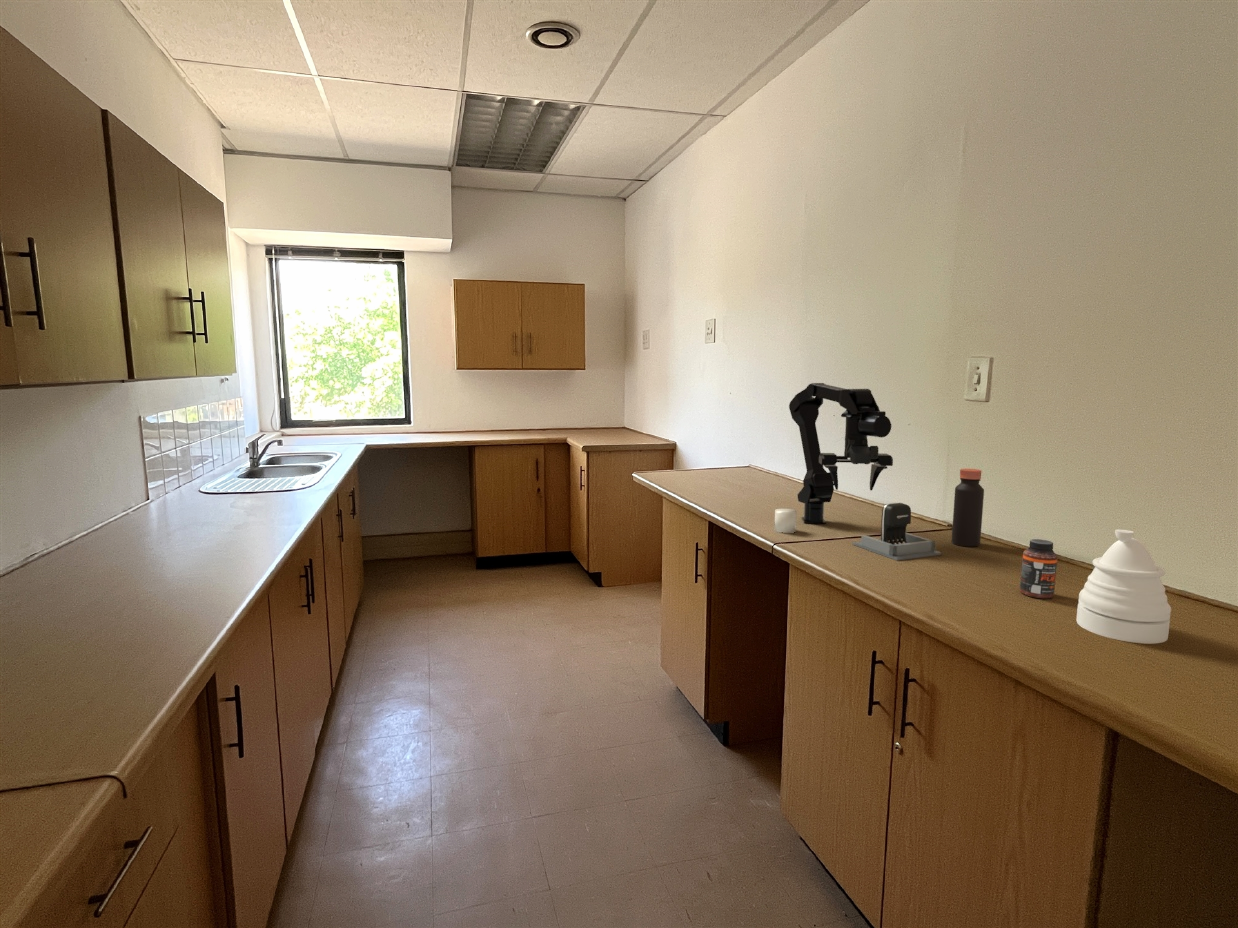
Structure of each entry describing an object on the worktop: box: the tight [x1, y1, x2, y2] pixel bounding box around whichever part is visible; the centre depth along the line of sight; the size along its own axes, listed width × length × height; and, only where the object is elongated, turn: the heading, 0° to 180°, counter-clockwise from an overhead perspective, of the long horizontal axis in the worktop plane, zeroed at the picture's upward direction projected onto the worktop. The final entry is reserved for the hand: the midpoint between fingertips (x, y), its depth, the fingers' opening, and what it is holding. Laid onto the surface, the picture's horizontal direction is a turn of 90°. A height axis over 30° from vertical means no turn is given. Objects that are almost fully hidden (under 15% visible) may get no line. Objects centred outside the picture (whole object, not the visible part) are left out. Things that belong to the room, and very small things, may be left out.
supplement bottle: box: [1019, 538, 1058, 600], centre depth 130 cm, size 6×6×11 cm
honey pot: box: [1076, 529, 1172, 645], centre depth 112 cm, size 13×13×18 cm
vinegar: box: [951, 468, 985, 548], centre depth 169 cm, size 7×7×20 cm
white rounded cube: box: [774, 508, 797, 534], centre depth 185 cm, size 6×6×6 cm
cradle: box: [852, 532, 942, 562], centre depth 165 cm, size 16×14×3 cm
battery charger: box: [880, 502, 912, 545], centre depth 164 cm, size 7×4×11 cm, turn 109°
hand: (853, 489), depth 178 cm, fingers open, 9 cm apart
